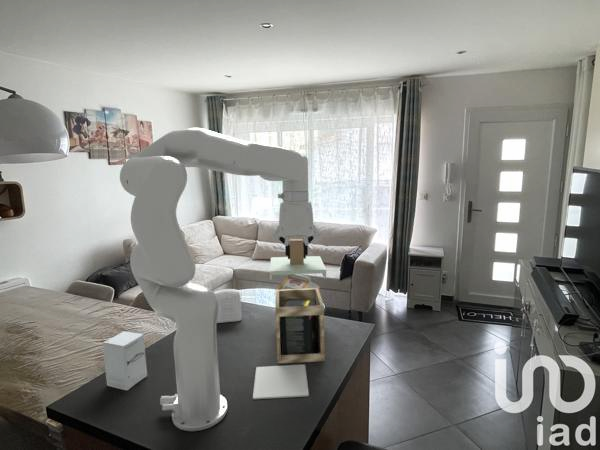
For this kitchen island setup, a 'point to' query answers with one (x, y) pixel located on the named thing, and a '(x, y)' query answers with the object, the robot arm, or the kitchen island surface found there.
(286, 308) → the crate
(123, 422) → the kitchen island surface
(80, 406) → the kitchen island surface
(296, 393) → the mat
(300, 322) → the tampon box
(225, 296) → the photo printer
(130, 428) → the kitchen island surface
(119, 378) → the supplement box
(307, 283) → the milk carton
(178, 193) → the robot arm
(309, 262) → the lid
